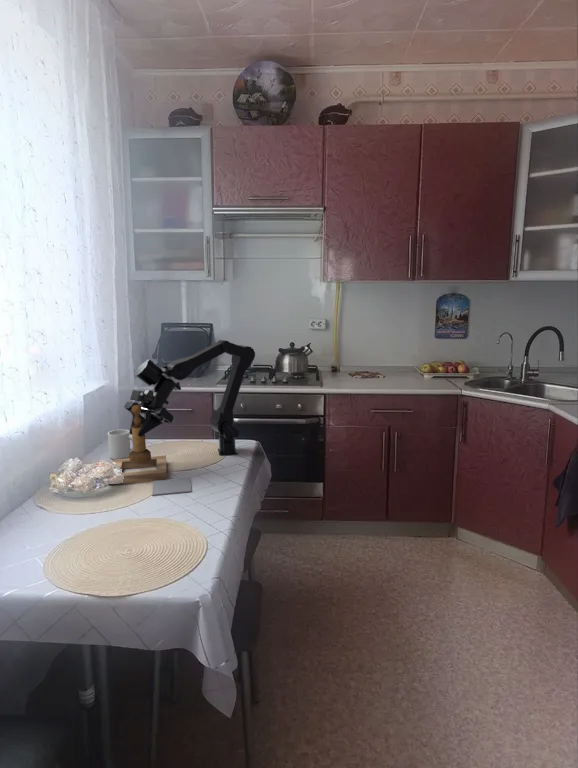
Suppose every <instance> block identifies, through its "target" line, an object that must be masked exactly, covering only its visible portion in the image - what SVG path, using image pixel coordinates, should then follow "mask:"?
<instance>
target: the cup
mask: <svg viewBox="0 0 578 768" xmlns="http://www.w3.org/2000/svg"><path fill="white" fill-rule="evenodd" d="M129 432H130V429H116V430H115V429H114V430H111V431H108V432H107V438H108V439H107V442H108V443H107V444H108V453H109V454H108V455H109V458H110V459H111V460H116V459H128V458H129V454H130V453H131V452H132V451H133V446H132V448H131V442H132V444H133V439H132V434H130V433H129Z"/></svg>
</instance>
